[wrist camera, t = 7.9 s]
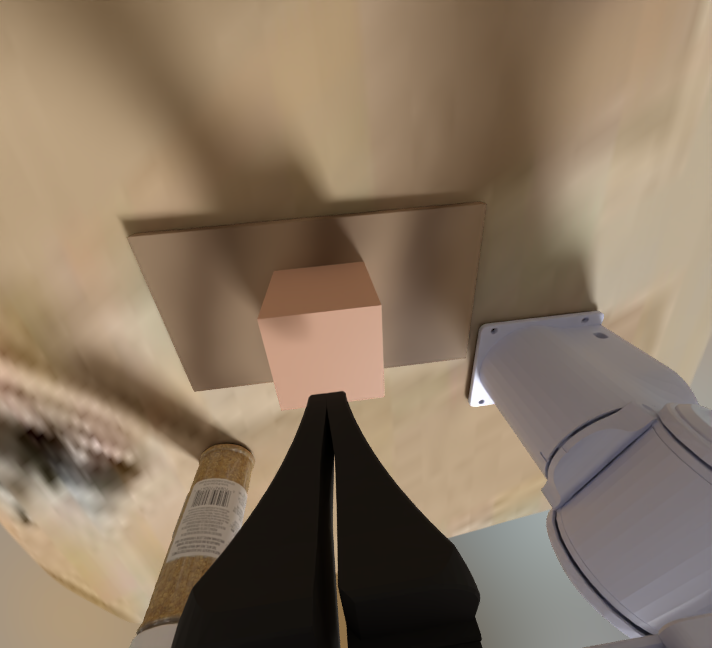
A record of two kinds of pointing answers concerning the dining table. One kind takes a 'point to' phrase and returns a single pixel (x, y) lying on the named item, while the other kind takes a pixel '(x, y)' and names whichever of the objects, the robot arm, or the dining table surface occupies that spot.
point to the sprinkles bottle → (198, 538)
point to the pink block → (323, 333)
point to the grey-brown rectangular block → (310, 249)
